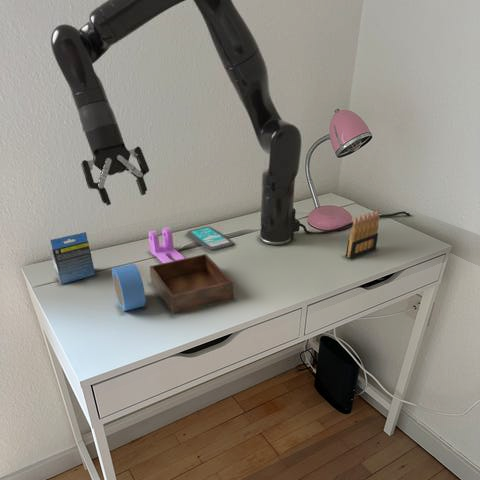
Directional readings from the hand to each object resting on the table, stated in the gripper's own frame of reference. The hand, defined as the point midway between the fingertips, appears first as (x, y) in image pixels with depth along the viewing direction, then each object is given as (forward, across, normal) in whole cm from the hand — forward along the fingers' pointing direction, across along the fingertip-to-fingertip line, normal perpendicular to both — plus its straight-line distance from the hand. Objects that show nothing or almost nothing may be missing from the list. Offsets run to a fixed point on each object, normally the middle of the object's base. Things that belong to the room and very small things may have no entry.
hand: (126, 199), depth 107 cm
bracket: (+18, +9, +15) cm, 25 cm away
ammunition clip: (+32, +57, -5) cm, 66 cm away
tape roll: (+23, -8, -3) cm, 25 cm away
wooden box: (+25, +7, -3) cm, 26 cm away
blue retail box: (+14, -16, +16) cm, 27 cm away
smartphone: (+17, +24, +20) cm, 36 cm away
